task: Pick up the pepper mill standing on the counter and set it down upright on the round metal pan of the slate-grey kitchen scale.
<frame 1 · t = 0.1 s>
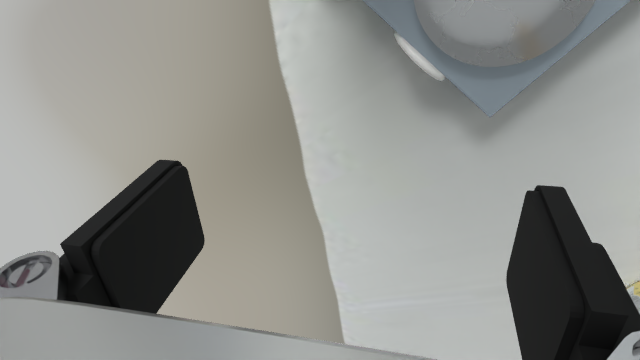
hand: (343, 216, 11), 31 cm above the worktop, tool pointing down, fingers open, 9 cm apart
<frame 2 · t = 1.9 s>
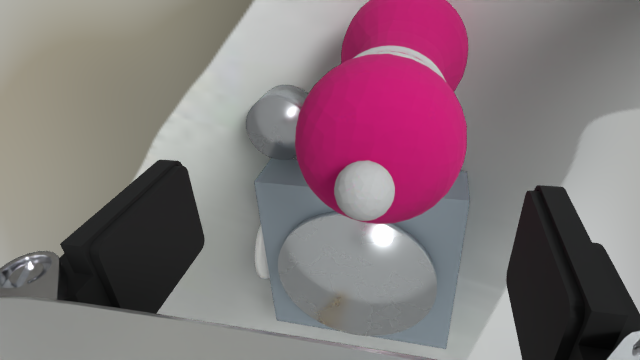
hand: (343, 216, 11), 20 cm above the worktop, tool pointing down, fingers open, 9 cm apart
scale: (363, 240, 38), on the worktop
silver metal dome: (289, 114, 33), on the worktop
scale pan: (354, 278, 34), point 5 cm above the worktop, slide at -0.7 cm
pepper mill: (408, 37, 28), on the worktop
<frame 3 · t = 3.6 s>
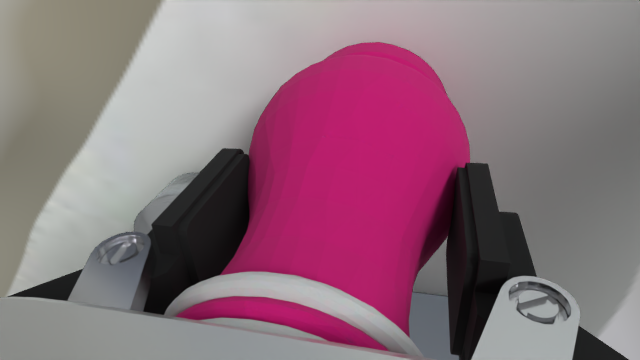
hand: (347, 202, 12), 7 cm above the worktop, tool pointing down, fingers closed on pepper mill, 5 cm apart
silver metal dome: (208, 211, 23), on the worktop
pepper mill: (373, 114, 18), on the worktop, touching gripper
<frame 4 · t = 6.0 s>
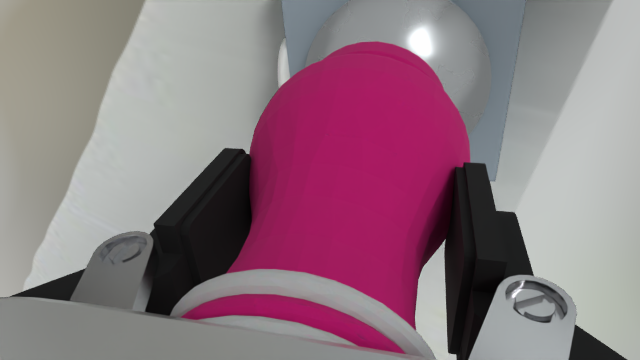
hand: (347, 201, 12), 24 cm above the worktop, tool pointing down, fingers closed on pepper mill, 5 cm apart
scale: (398, 66, 34), on the worktop
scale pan: (393, 85, 30), point 5 cm above the worktop, slide at -0.7 cm
pepper mill: (371, 113, 18), point 17 cm above the worktop, touching gripper
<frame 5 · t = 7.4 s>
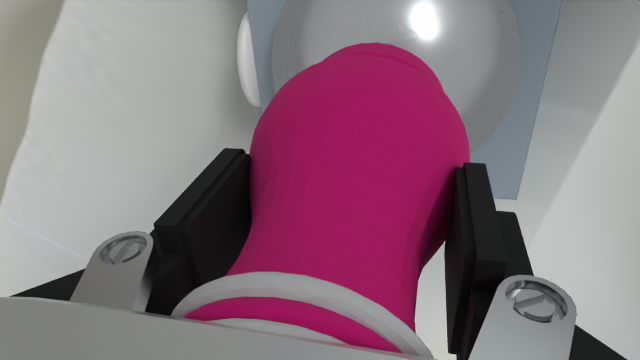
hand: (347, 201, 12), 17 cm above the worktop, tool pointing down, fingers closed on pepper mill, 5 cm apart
scale: (395, 50, 26), on the worktop
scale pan: (388, 73, 22), point 5 cm above the worktop, slide at -0.7 cm
pepper mill: (371, 114, 18), point 10 cm above the worktop, touching gripper
when the fingers open (14 cm above the worktop, at t = 8.5 s): pepper mill drops 2 cm, resting on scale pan.
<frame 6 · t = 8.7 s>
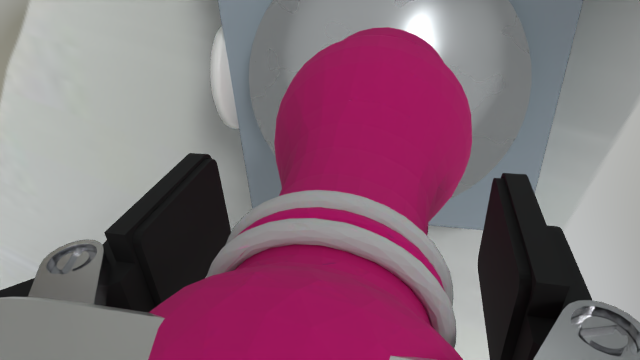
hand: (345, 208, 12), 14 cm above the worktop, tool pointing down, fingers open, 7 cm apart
scale: (388, 67, 24), on the worktop
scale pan: (380, 95, 20), point 5 cm above the worktop, slide at -0.8 cm, touching pepper mill
pepper mill: (381, 94, 19), point 5 cm above the worktop, touching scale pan
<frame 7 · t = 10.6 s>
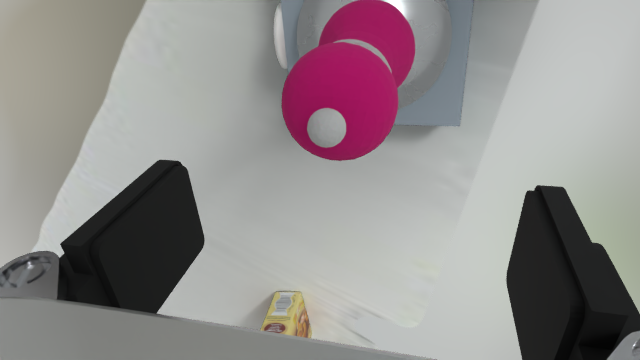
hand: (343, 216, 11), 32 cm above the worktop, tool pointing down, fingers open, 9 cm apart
candy box: (295, 311, 62), on the worktop
scale: (377, 29, 39), on the worktop
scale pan: (371, 40, 35), point 5 cm above the worktop, slide at -0.8 cm, touching pepper mill
pepper mill: (372, 39, 35), point 5 cm above the worktop, touching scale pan
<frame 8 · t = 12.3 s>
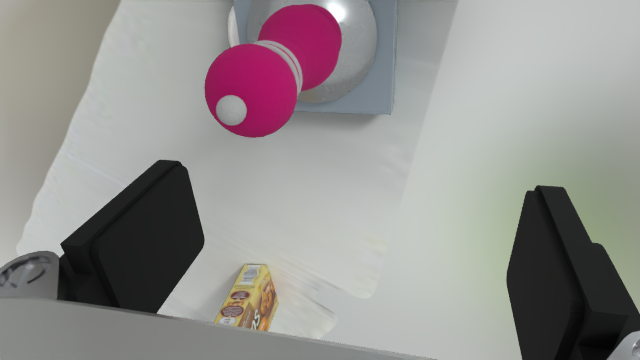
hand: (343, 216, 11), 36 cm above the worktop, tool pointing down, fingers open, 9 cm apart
candy box: (263, 283, 68), on the worktop
scale: (321, 28, 45), on the worktop
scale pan: (310, 38, 41), point 5 cm above the worktop, slide at -0.8 cm, touching pepper mill
pepper mill: (311, 37, 40), point 5 cm above the worktop, touching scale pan
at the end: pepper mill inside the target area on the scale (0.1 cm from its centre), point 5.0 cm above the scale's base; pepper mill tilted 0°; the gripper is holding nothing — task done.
